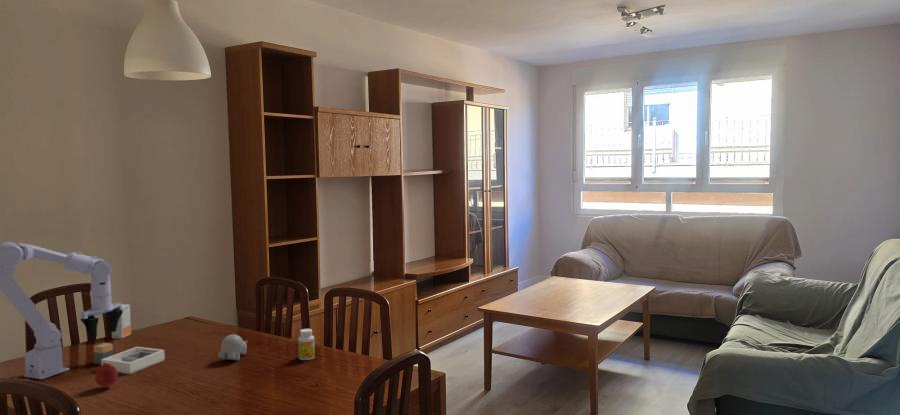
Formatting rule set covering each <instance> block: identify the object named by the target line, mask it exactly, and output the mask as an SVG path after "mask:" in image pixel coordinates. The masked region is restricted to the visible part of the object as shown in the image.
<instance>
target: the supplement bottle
mask: <svg viewBox="0 0 900 415" xmlns="http://www.w3.org/2000/svg"><path fill="white" fill-rule="evenodd" d="M297 344H298V347H297V348H298V359H299V360H300V361H310V360H313V359H314V358H315V352H316V351H315V350H316V349H315V346H316V345H315V336H314V335H313V329H311V328H303V329H300V330H299V337H298V342H297Z"/></svg>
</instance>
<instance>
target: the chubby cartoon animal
mask: <svg viewBox="0 0 900 415" xmlns="http://www.w3.org/2000/svg"><path fill="white" fill-rule="evenodd" d="M247 344H248V339H246V340H243V338H242V337H241V336H240V335H237V334H234V333H233V334H228V335H227V336H225V337H224V338H223V339H222V342H221V345H220V351H219V352H218V354H217V358H218V359H222V360H226V361H227V360H228V361H230V360H232V361H240V358H241V356H244V355H246V353H247V352H248V350H247V348H248V346H247Z"/></svg>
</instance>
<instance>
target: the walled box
mask: <svg viewBox="0 0 900 415" xmlns="http://www.w3.org/2000/svg"><path fill="white" fill-rule="evenodd" d="M165 358H166V356H165V350H164V349H160V348H150V347H143V346H135V347H132V348H129V349H127V350H123V351H121V352H118V353H116V354H113V356H110V357H107V358H104V359H101V364H102V365H103V362H107V363H108V364H110V365H112V366H114V367H115V368H116V370H117V372H118V374H119V373H121V374H125V375H131V374H134V373H137V372H139V371H142V370H143V369H147V368H149V367H151V366H154V365H157V364H159V363H161V362H163V361H165V360H166V359H165ZM102 365H101V366H102Z"/></svg>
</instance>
